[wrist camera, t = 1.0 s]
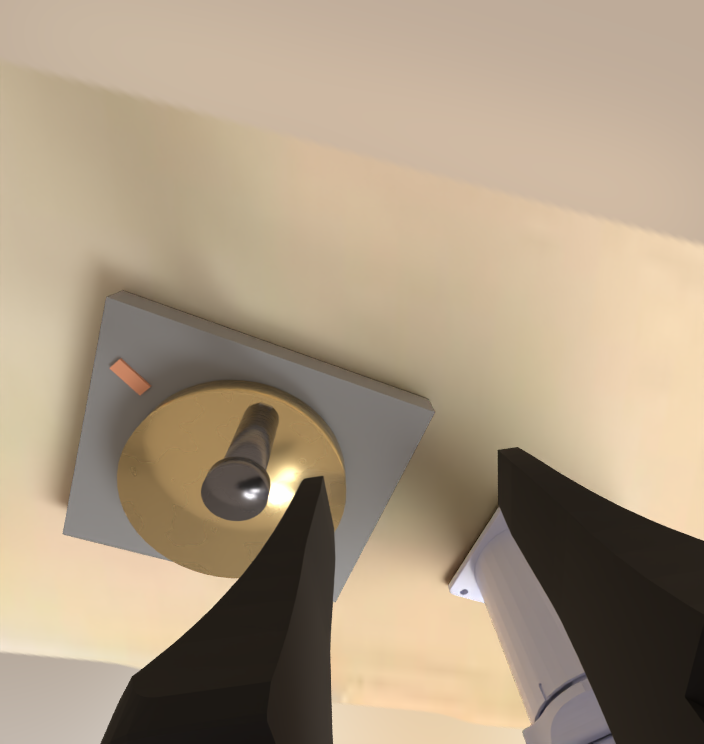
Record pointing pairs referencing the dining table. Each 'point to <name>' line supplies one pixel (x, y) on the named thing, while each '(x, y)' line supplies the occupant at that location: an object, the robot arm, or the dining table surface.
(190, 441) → the brass disc with crank
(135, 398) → the stand
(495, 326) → the dining table surface
